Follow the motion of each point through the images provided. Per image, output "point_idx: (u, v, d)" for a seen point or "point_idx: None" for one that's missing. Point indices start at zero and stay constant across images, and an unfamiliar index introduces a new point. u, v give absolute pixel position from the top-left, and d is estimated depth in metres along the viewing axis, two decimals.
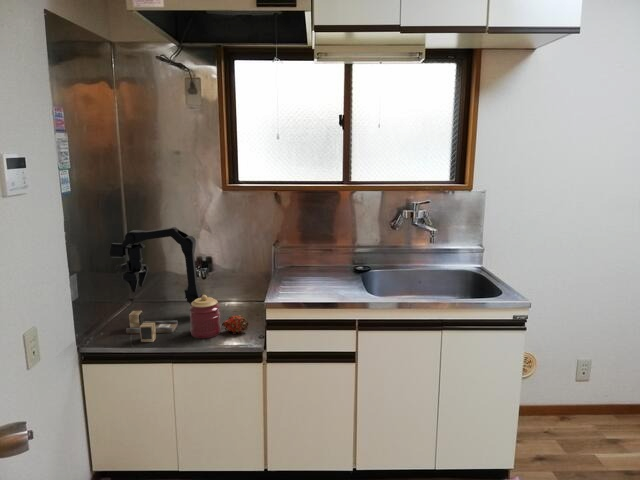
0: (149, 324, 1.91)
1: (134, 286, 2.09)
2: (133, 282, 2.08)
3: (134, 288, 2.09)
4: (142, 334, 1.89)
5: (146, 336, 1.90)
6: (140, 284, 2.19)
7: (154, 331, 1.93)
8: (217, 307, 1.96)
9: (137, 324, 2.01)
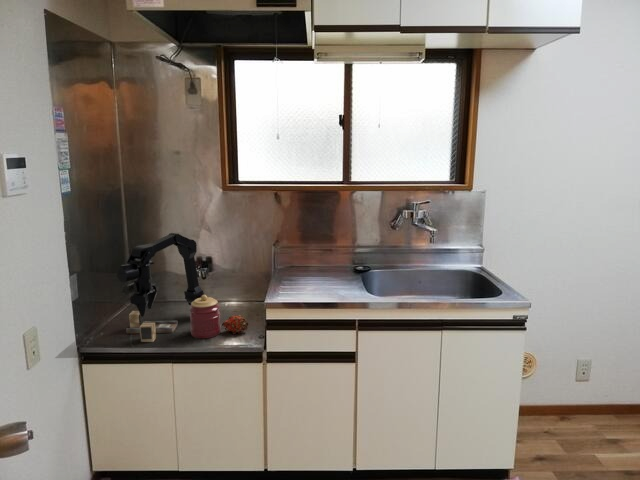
0: (149, 324, 1.91)
1: (143, 309, 1.84)
2: (141, 305, 1.83)
3: (142, 311, 1.85)
4: (142, 334, 1.89)
5: (146, 336, 1.90)
6: (149, 306, 1.94)
7: (154, 331, 1.93)
8: (217, 307, 1.96)
9: (137, 324, 2.01)
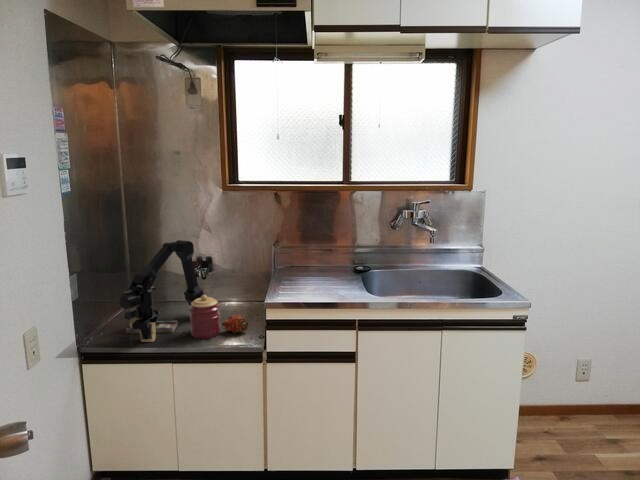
0: None
1: (146, 333, 1.88)
2: (145, 329, 1.88)
3: (146, 335, 1.89)
4: (142, 334, 1.89)
5: None
6: None
7: (154, 331, 1.93)
8: (217, 307, 1.96)
9: None
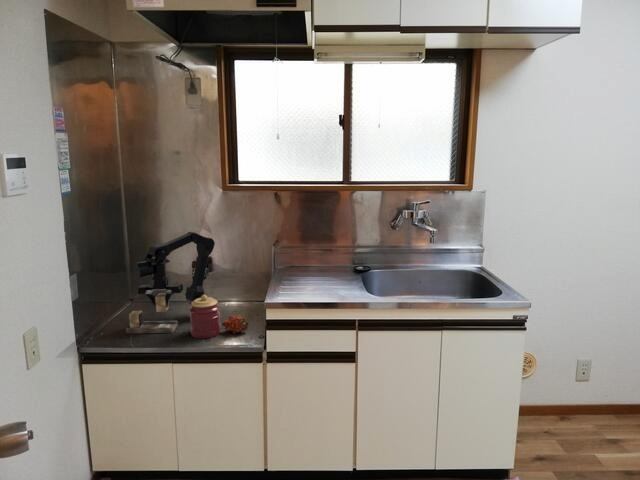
0: (160, 295, 2.01)
1: None
2: None
3: None
4: None
5: None
6: None
7: (161, 304, 2.00)
8: (217, 307, 1.96)
9: (137, 324, 2.01)
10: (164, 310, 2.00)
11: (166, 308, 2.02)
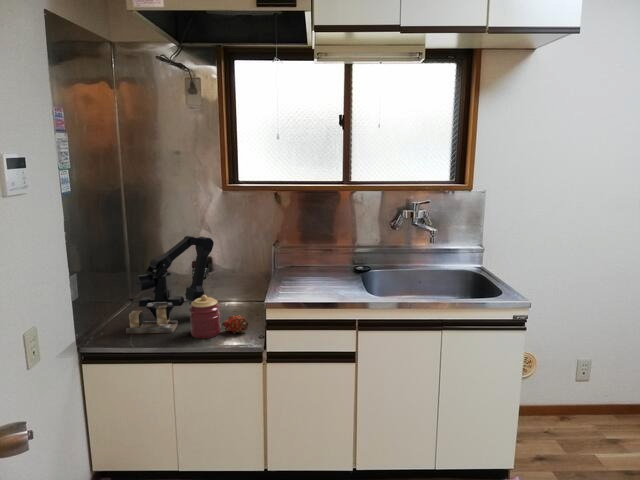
0: (161, 308, 2.02)
1: None
2: None
3: None
4: None
5: None
6: None
7: (162, 316, 2.01)
8: (217, 307, 1.96)
9: (137, 324, 2.01)
10: (165, 323, 2.02)
11: (167, 321, 2.03)
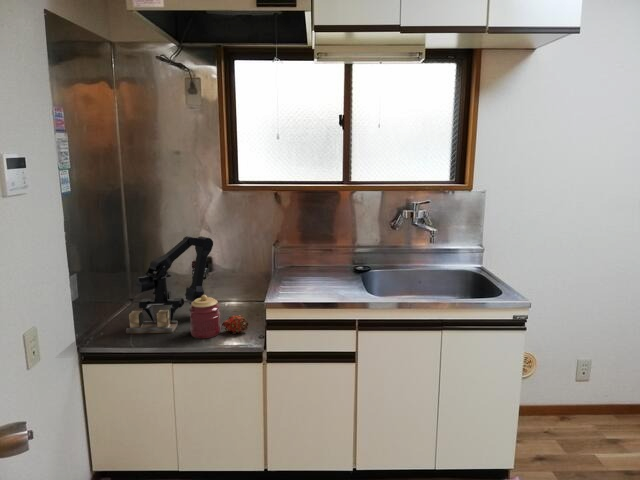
0: (161, 312, 2.02)
1: None
2: None
3: None
4: None
5: None
6: None
7: (162, 321, 2.01)
8: (217, 307, 1.96)
9: (137, 324, 2.01)
10: None
11: (167, 325, 2.03)
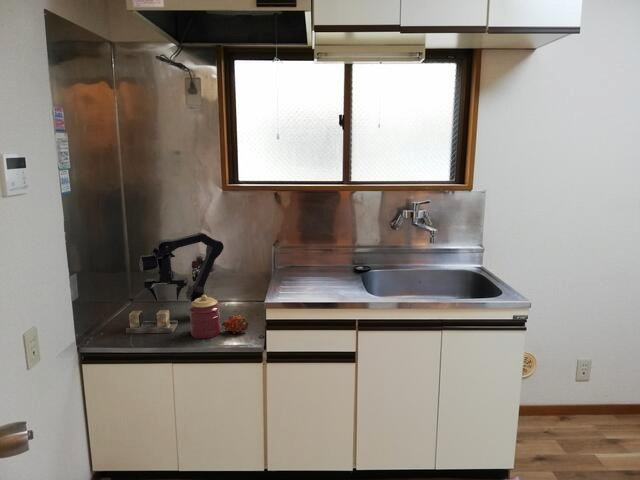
0: (161, 312, 2.02)
1: None
2: None
3: None
4: None
5: None
6: None
7: (162, 321, 2.01)
8: (217, 307, 1.96)
9: (137, 324, 2.01)
10: None
11: (167, 325, 2.03)
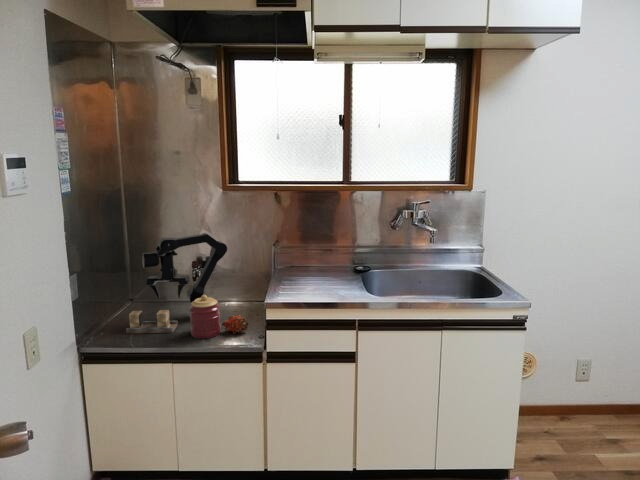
0: (161, 312, 2.02)
1: None
2: None
3: None
4: None
5: None
6: None
7: (162, 321, 2.01)
8: (217, 307, 1.96)
9: (137, 324, 2.01)
10: None
11: (167, 325, 2.03)
